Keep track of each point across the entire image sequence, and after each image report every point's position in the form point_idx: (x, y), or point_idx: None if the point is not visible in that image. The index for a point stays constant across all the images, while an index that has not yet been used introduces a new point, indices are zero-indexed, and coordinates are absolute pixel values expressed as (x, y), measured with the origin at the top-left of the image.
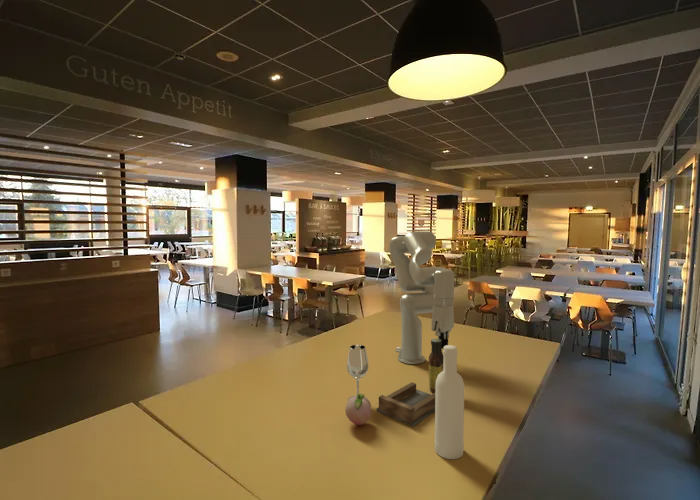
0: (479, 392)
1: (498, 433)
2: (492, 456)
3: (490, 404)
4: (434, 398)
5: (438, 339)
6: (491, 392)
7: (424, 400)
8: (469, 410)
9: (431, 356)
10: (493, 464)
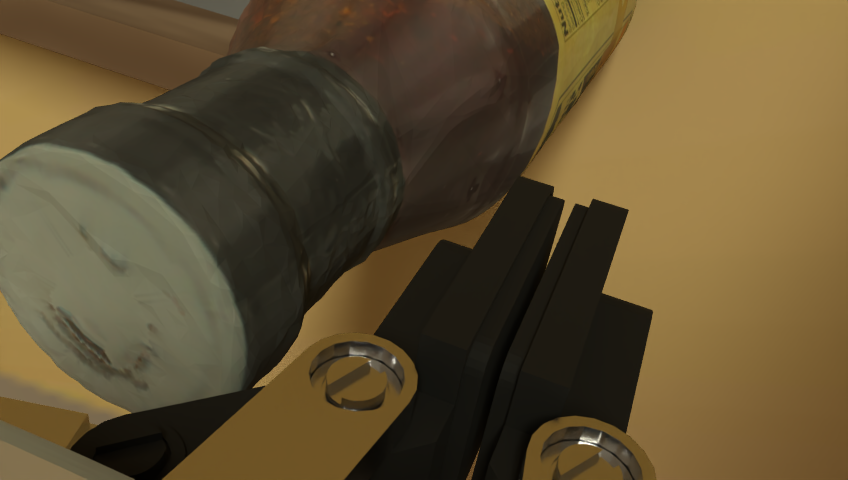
0: (715, 349)
1: None
2: (51, 371)
3: None
4: (146, 79)
5: (177, 356)
6: (761, 436)
7: (50, 14)
8: (348, 282)
9: (233, 43)
10: (15, 370)
